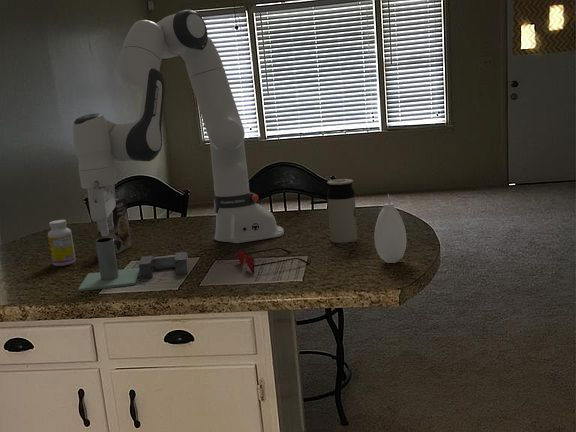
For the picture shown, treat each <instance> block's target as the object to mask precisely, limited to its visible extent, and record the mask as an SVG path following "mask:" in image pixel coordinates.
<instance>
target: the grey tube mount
mask: <svg viewBox="0 0 576 432" xmlns="http://www.w3.org/2000/svg"><path fill="white" fill-rule="evenodd" d="M187 252H188V251H181V252H175V254H169V255H163V256H160V255H159V256H154V255H146V256H141V257H140V260H139V263H138V268H139V271H140V273H139V278H140V280H144V279H145V280H146V279H152V278H153V277H154V273H155V271H156V270H162V269H171V268H174V269H175V276H181V275H188V274H189V258H188V253H187Z"/></svg>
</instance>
